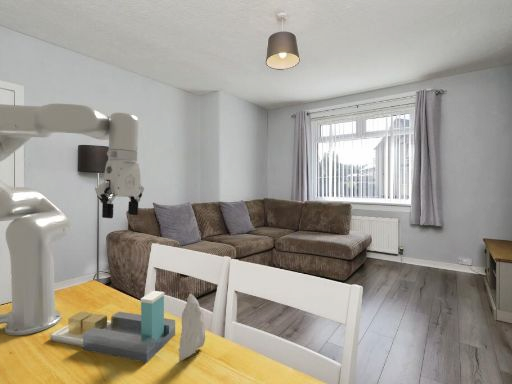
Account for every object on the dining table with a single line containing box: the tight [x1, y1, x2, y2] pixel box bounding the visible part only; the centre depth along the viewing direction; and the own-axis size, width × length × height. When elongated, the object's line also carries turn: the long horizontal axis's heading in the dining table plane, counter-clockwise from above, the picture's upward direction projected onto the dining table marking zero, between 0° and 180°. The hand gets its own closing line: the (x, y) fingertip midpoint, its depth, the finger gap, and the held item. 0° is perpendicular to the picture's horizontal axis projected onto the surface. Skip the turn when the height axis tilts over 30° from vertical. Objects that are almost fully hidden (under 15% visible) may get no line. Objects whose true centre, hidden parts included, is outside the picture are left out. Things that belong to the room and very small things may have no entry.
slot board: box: [82, 311, 176, 363], centre depth 71 cm, size 18×12×4 cm, turn 75°
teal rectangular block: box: [139, 290, 165, 341], centre depth 69 cm, size 3×5×11 cm, turn 165°
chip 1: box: [67, 311, 94, 335], centre depth 75 cm, size 4×4×4 cm
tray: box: [49, 319, 111, 348], centre depth 75 cm, size 11×10×2 cm
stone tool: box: [178, 293, 206, 362], centre depth 65 cm, size 8×3×15 cm, turn 150°
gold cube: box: [83, 313, 108, 333], centre depth 74 cm, size 4×4×4 cm
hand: (121, 216), depth 80 cm, fingers open, 9 cm apart
